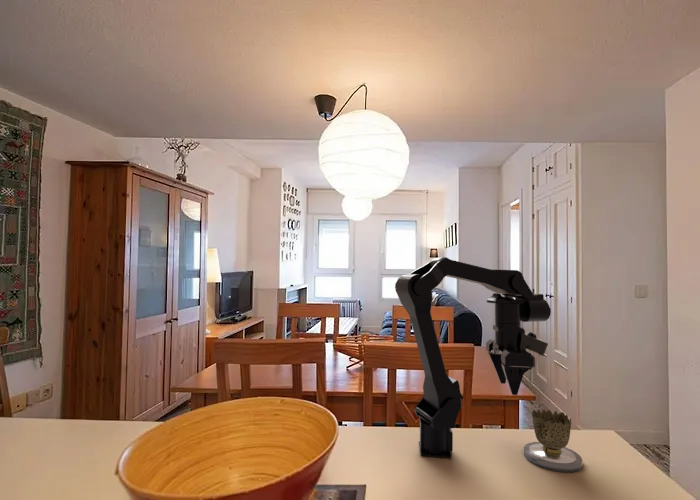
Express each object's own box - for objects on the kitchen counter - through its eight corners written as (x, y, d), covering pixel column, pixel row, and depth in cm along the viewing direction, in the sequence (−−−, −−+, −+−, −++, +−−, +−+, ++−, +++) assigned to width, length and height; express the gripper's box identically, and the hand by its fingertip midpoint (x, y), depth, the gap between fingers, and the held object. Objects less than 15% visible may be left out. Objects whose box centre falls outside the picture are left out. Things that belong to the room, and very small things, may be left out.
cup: (578, 463, 76) (577, 422, 76) (538, 459, 77) (537, 419, 78) (564, 447, 83) (563, 410, 84) (528, 444, 85) (528, 407, 85)
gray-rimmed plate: (534, 470, 76) (534, 463, 76) (516, 445, 87) (516, 440, 87) (593, 474, 74) (592, 467, 74) (567, 449, 85) (567, 443, 85)
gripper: (559, 328, 81) (561, 403, 80) (529, 319, 99) (530, 379, 98) (505, 327, 82) (506, 400, 81) (485, 317, 101) (485, 377, 100)
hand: (508, 388), depth 90 cm, fingers open, 9 cm apart
